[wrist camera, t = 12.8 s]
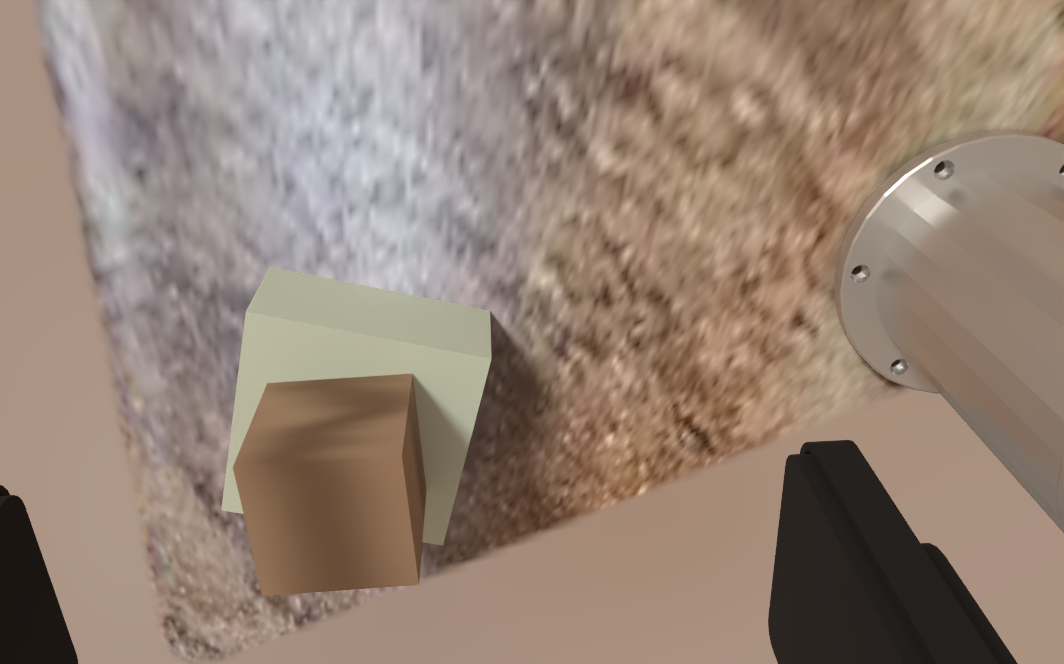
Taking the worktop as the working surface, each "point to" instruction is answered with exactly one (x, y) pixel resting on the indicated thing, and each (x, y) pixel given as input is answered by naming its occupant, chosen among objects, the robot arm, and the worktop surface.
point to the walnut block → (334, 485)
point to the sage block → (369, 365)
